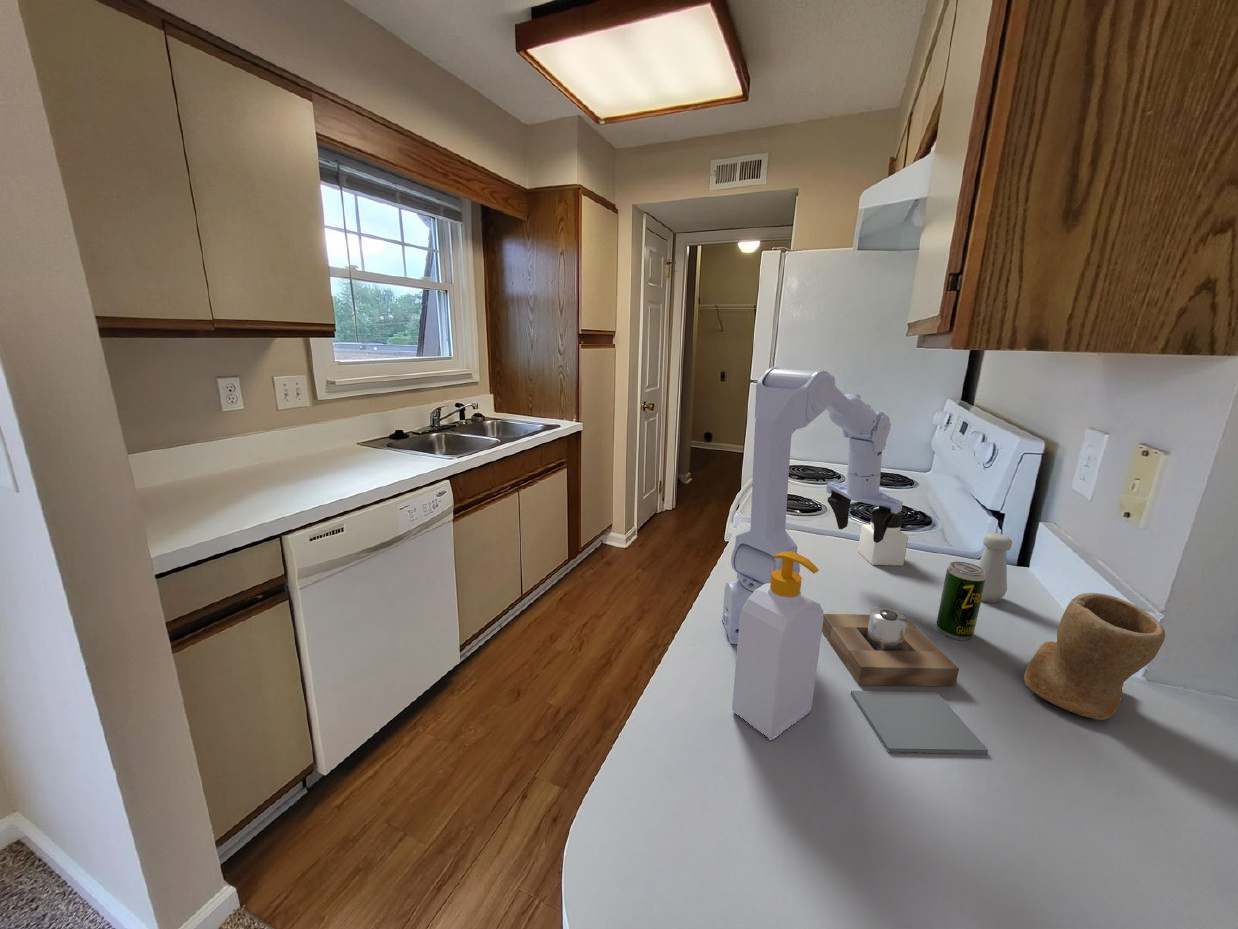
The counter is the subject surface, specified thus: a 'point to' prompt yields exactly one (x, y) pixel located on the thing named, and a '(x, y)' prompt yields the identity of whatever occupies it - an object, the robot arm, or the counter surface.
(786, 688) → the soap bottle
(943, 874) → the counter surface
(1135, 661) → the tan boot
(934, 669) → the bore block
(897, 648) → the grey round-capped cylinder
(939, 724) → the rubber mat
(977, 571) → the green soda can
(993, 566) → the salt shaker
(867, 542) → the medicine bottle
